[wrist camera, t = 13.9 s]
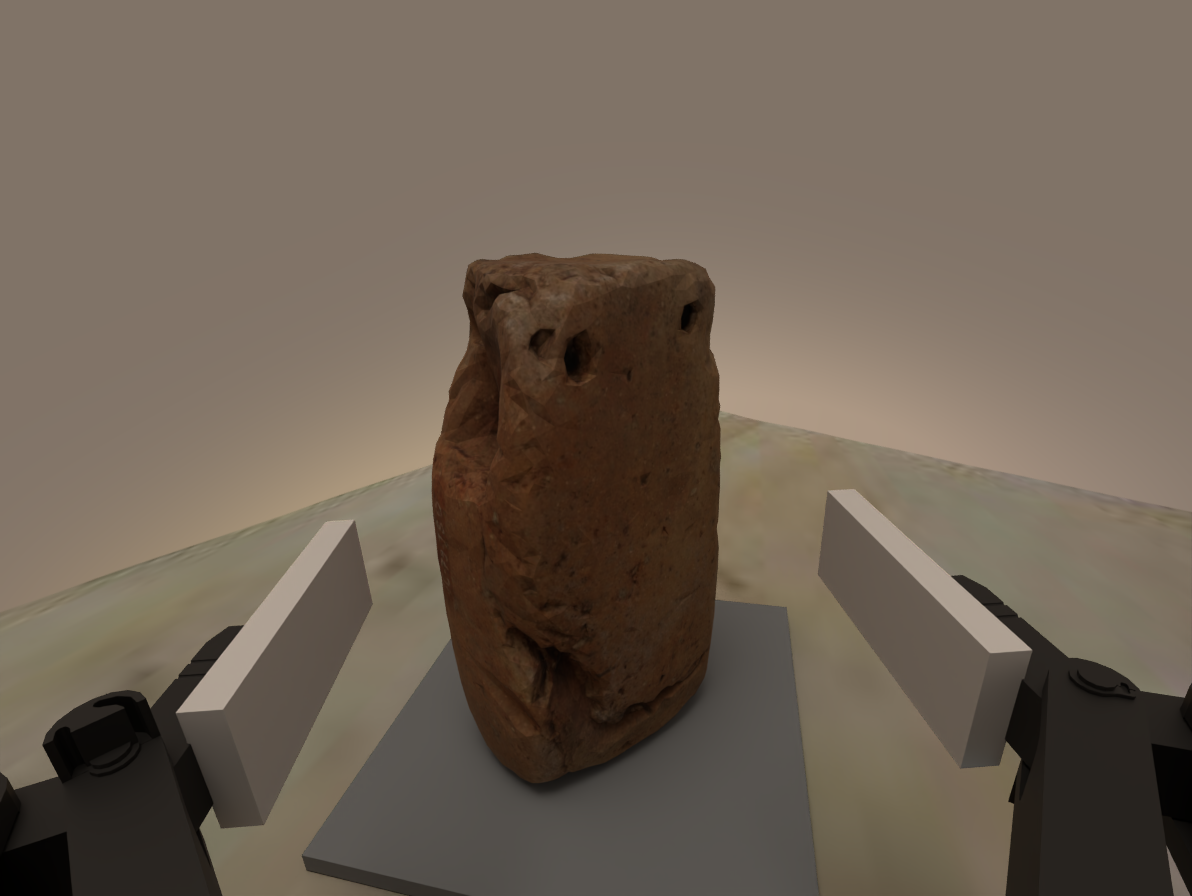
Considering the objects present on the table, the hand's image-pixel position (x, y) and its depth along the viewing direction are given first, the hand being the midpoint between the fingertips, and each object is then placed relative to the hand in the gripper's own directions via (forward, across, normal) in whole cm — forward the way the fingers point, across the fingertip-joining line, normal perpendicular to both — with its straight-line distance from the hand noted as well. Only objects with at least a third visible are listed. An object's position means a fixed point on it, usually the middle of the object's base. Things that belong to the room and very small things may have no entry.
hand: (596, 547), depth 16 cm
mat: (+7, 0, -13) cm, 15 cm away
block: (+7, 0, -13) cm, 14 cm away
